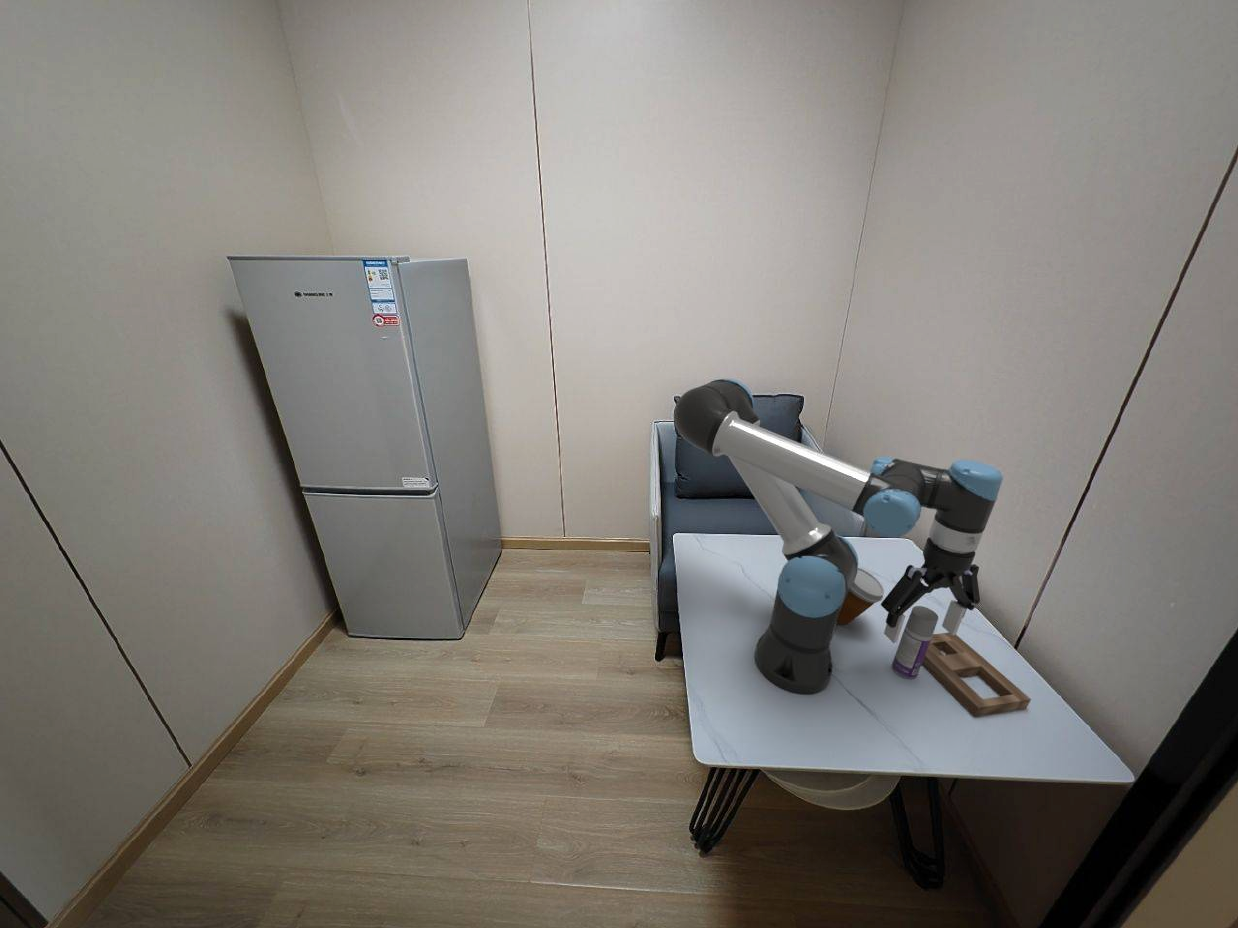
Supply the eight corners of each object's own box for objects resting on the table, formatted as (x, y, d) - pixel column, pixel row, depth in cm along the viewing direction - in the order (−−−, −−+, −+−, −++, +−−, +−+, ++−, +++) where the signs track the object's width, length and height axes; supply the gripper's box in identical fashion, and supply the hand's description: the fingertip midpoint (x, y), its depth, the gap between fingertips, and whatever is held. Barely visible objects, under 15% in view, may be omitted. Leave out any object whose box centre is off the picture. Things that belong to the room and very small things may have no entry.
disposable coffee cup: (819, 620, 108) (849, 585, 102) (815, 592, 116) (842, 558, 110) (858, 638, 107) (890, 604, 101) (851, 608, 115) (880, 575, 109)
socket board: (974, 717, 88) (978, 707, 87) (903, 646, 104) (907, 637, 103) (1026, 708, 90) (1031, 699, 89) (949, 640, 106) (953, 631, 105)
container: (910, 662, 100) (931, 606, 94) (921, 680, 95) (944, 622, 90) (887, 660, 100) (907, 604, 94) (897, 677, 96) (918, 620, 90)
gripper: (907, 560, 80) (878, 655, 88) (1027, 549, 85) (988, 640, 93) (877, 537, 87) (852, 627, 95) (989, 528, 91) (956, 615, 99)
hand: (919, 634), depth 94 cm, fingers open, 13 cm apart
